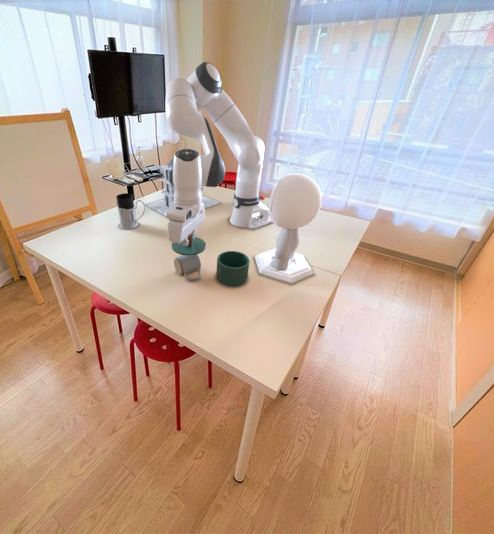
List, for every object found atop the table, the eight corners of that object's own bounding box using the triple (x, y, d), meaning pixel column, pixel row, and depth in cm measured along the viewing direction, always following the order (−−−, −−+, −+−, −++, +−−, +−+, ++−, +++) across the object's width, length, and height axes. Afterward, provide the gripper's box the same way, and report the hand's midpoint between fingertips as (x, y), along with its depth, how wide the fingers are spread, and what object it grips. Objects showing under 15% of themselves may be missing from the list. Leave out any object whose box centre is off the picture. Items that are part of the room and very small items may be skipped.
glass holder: (125, 220, 140) (120, 192, 131) (150, 223, 137) (147, 194, 128) (116, 228, 133) (111, 198, 124) (143, 231, 130) (139, 201, 121)
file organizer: (145, 204, 157) (141, 165, 145) (193, 191, 176) (192, 155, 163) (171, 219, 141) (169, 177, 129) (220, 203, 159) (222, 164, 147)
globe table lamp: (262, 246, 118) (276, 163, 98) (318, 261, 109) (345, 172, 89) (245, 269, 104) (257, 178, 84) (307, 289, 95) (337, 190, 75)
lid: (197, 236, 103) (197, 225, 100) (212, 252, 94) (212, 240, 91) (166, 243, 99) (165, 231, 96) (179, 260, 90) (178, 248, 87)
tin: (236, 265, 106) (238, 248, 102) (253, 281, 98) (255, 263, 94) (211, 273, 103) (211, 255, 98) (226, 290, 94) (227, 271, 90)
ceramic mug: (172, 269, 104) (172, 253, 100) (191, 263, 108) (191, 246, 103) (186, 284, 97) (186, 267, 92) (205, 277, 100) (206, 260, 96)
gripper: (193, 193, 96) (193, 228, 104) (163, 215, 81) (166, 254, 89) (209, 196, 94) (208, 231, 102) (182, 219, 79) (183, 259, 87)
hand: (188, 242), depth 95 cm, fingers closed on lid, 2 cm apart
